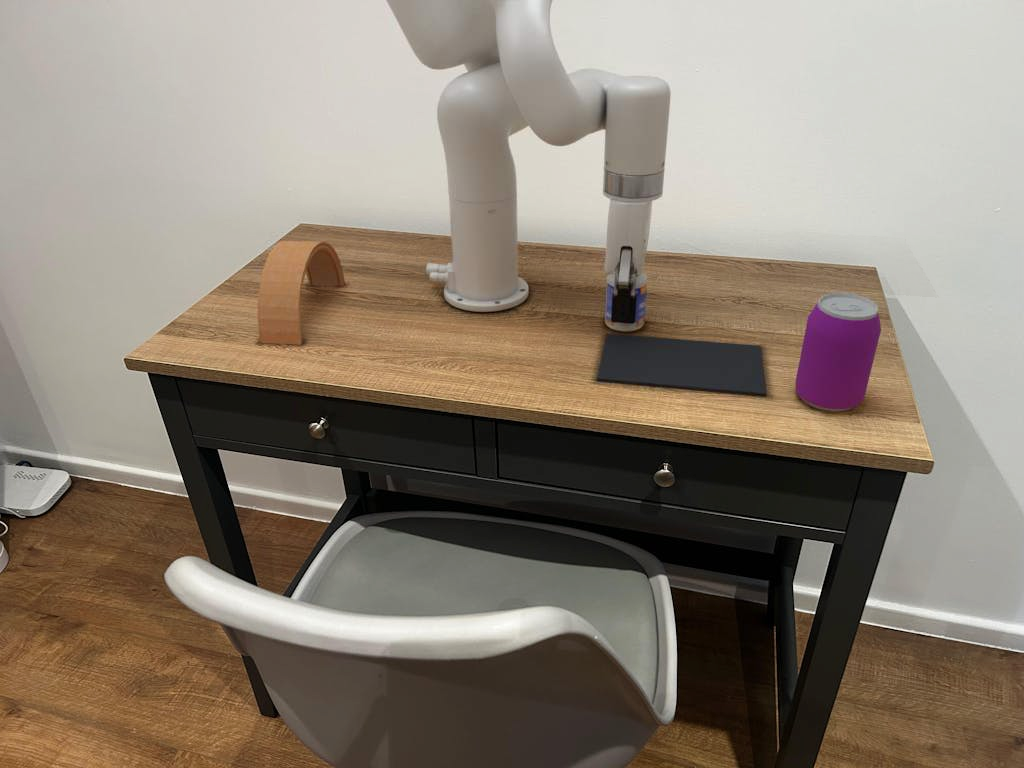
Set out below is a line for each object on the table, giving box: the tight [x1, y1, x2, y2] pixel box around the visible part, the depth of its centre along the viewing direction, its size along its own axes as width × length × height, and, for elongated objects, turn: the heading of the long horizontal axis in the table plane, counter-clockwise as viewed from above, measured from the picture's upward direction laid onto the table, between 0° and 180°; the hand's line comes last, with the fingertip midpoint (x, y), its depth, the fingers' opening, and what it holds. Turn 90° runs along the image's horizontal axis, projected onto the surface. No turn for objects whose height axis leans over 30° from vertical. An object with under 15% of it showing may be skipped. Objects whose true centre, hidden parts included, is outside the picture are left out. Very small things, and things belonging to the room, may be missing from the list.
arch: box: [257, 240, 346, 346], centre depth 114 cm, size 6×20×10 cm, turn 173°
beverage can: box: [794, 292, 882, 413], centre depth 91 cm, size 8×8×12 cm
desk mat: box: [596, 333, 767, 397], centre depth 101 cm, size 20×12×1 cm, turn 78°
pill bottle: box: [604, 255, 648, 332], centre depth 109 cm, size 5×5×10 cm
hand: (625, 310), depth 110 cm, fingers closed on pill bottle, 5 cm apart
